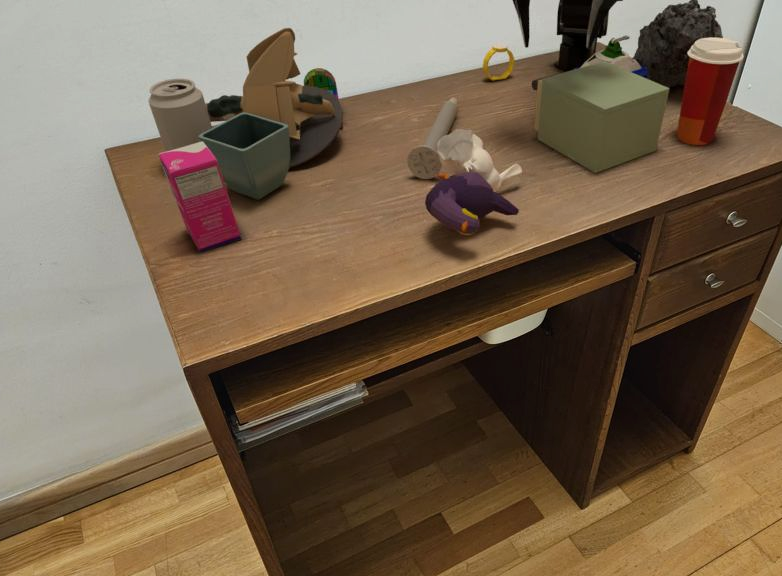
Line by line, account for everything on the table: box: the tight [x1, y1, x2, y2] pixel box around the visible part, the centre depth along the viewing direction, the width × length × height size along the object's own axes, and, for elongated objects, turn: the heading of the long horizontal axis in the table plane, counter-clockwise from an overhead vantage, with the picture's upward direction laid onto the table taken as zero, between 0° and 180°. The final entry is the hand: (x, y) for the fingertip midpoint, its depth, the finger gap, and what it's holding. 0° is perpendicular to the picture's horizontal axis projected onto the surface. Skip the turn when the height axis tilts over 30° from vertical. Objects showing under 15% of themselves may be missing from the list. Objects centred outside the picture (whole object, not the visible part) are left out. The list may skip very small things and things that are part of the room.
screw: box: [407, 97, 459, 180], centre depth 102 cm, size 5×26×5 cm
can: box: [147, 77, 213, 152], centre depth 95 cm, size 8×8×12 cm
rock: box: [632, 0, 724, 88], centre depth 112 cm, size 16×14×15 cm
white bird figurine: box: [437, 128, 523, 193], centre depth 89 cm, size 12×8×10 cm
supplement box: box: [157, 141, 242, 253], centre depth 80 cm, size 6×6×12 cm
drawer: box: [531, 72, 562, 132], centre depth 101 cm, size 18×11×8 cm, turn 33°
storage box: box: [537, 61, 670, 174], centre depth 98 cm, size 14×13×10 cm
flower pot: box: [198, 112, 290, 200], centre depth 90 cm, size 9×9×9 cm
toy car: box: [573, 35, 649, 79], centre depth 111 cm, size 9×12×10 cm
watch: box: [482, 43, 515, 82], centre depth 120 cm, size 6×3×6 cm, turn 116°
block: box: [303, 67, 344, 128], centre depth 106 cm, size 12×8×7 cm
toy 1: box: [205, 27, 344, 169], centre depth 95 cm, size 18×20×15 cm
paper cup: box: [676, 37, 744, 146], centre depth 98 cm, size 8×8×14 cm
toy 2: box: [424, 172, 520, 236], centre depth 82 cm, size 11×12×7 cm
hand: (557, 47), depth 94 cm, fingers open, 9 cm apart
